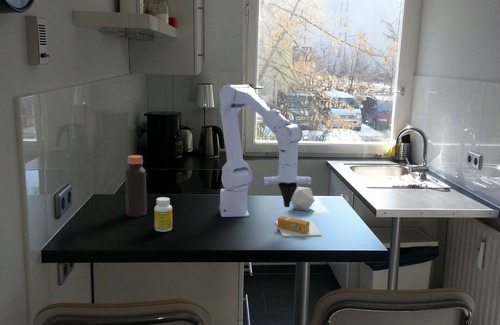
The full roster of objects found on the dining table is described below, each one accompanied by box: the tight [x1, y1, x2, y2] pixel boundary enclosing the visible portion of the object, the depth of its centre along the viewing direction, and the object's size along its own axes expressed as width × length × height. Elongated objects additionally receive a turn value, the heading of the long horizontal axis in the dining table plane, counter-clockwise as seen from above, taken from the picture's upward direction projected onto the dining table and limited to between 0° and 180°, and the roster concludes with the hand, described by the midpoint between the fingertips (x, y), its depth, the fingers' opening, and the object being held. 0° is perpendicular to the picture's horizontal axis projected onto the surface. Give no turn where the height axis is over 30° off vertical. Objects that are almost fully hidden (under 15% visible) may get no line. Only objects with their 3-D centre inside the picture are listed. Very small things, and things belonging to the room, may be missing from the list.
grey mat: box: [275, 219, 323, 238], centre depth 157 cm, size 12×14×1 cm
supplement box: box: [277, 215, 310, 234], centre depth 154 cm, size 3×3×10 cm
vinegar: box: [124, 154, 148, 218], centre depth 167 cm, size 7×7×20 cm
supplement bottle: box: [153, 196, 173, 233], centre depth 153 cm, size 5×5×10 cm
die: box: [290, 186, 315, 212], centre depth 178 cm, size 8×9×10 cm
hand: (286, 206), depth 155 cm, fingers closed
